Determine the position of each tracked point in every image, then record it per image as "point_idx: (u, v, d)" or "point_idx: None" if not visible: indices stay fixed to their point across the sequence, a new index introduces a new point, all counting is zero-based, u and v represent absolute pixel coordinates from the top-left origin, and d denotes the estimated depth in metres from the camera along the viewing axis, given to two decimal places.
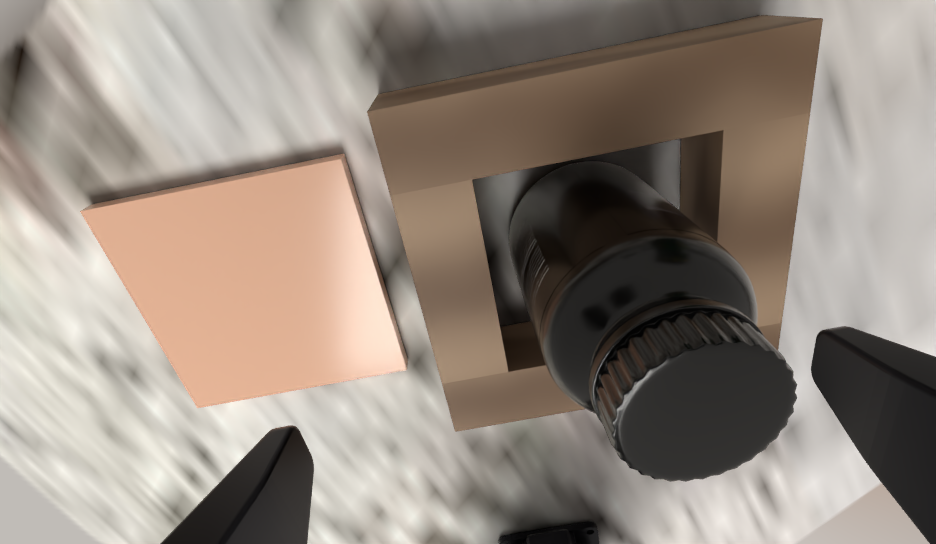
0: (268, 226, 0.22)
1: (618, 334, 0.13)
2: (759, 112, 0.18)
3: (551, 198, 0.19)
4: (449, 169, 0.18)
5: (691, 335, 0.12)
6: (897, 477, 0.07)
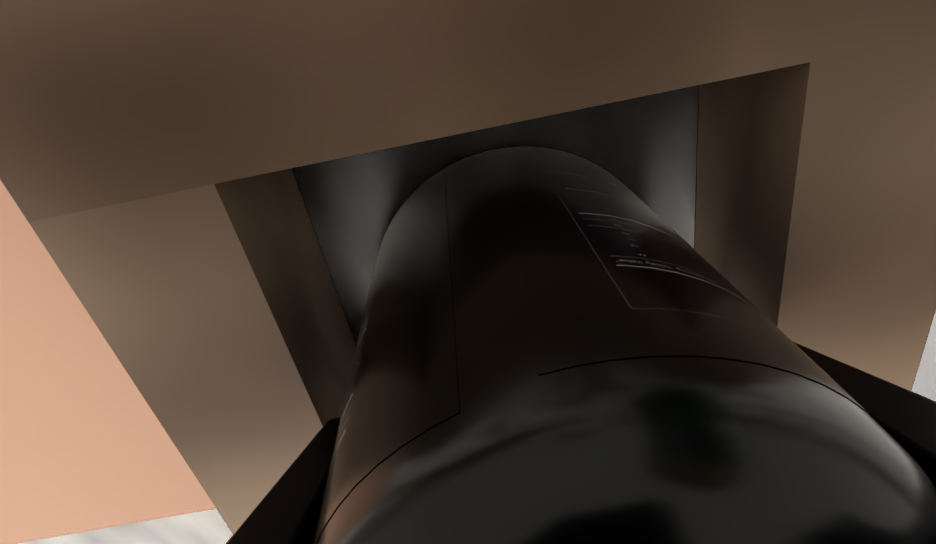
0: None
1: None
2: (901, 16, 0.07)
3: (419, 223, 0.09)
4: (152, 160, 0.08)
5: None
6: None
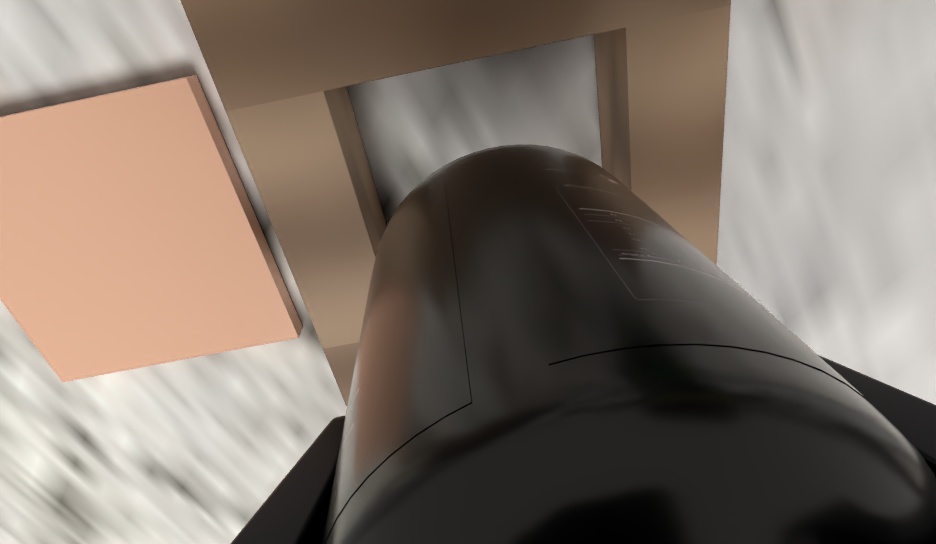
0: (111, 162, 0.18)
1: None
2: (668, 4, 0.14)
3: (420, 221, 0.09)
4: (293, 77, 0.15)
5: None
6: None
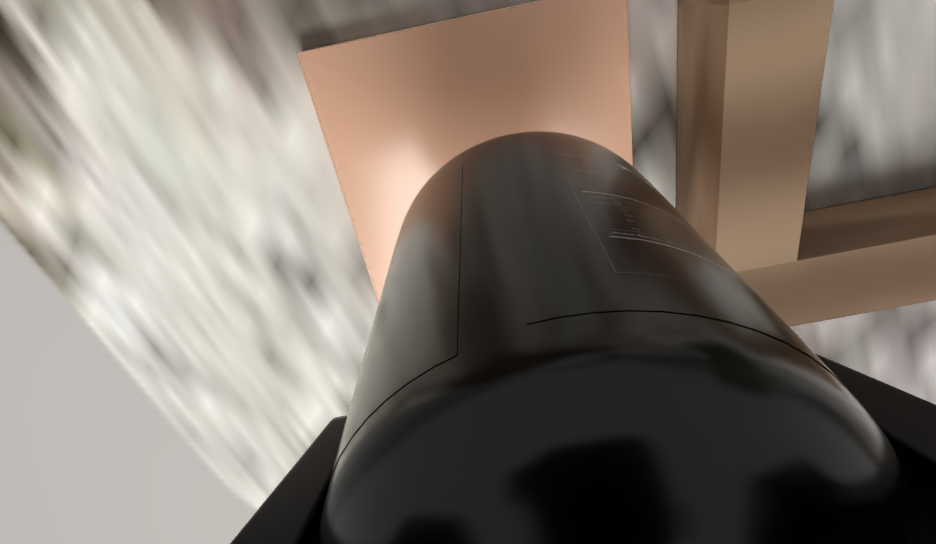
0: (518, 77, 0.18)
1: None
2: None
3: (437, 201, 0.10)
4: None
5: None
6: None
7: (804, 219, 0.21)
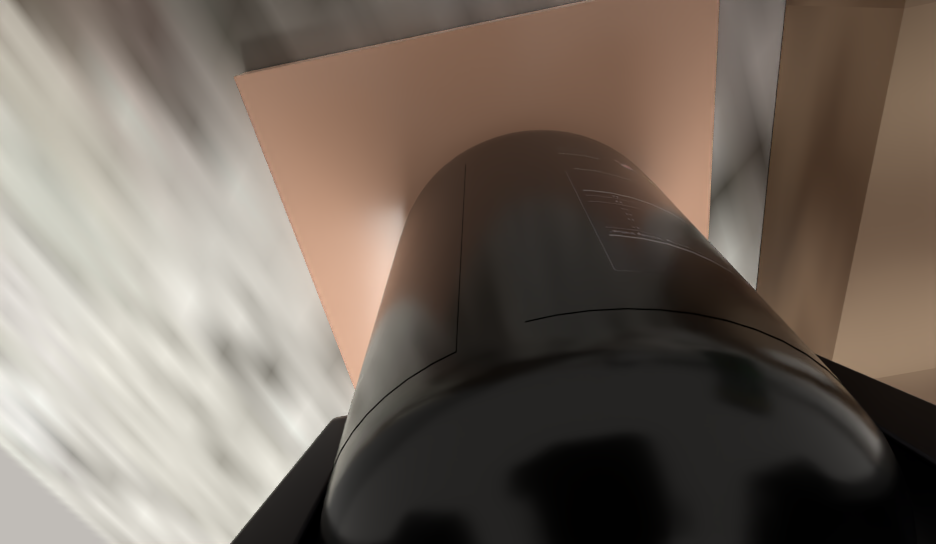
0: (556, 111, 0.12)
1: None
2: None
3: (439, 199, 0.10)
4: None
5: None
6: None
7: None
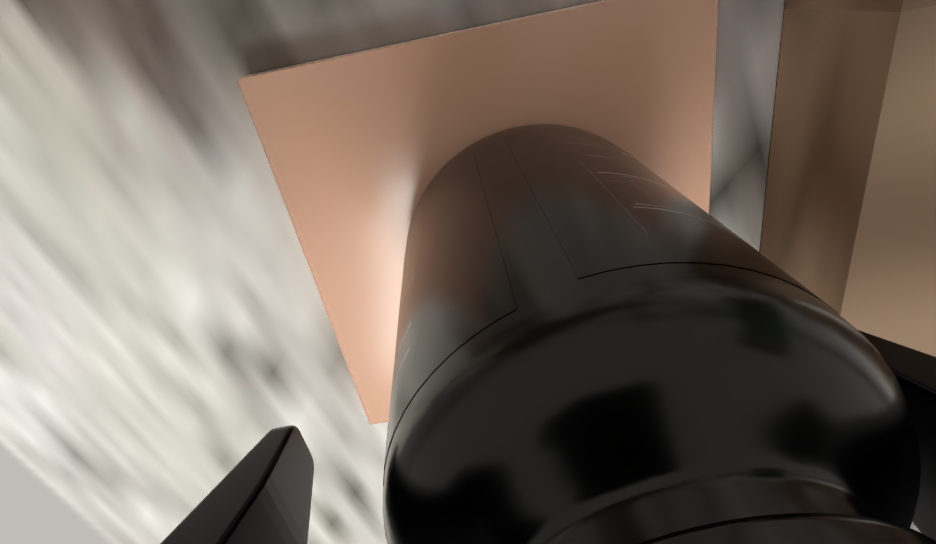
0: (556, 113, 0.12)
1: None
2: None
3: (454, 189, 0.10)
4: None
5: None
6: None
7: None
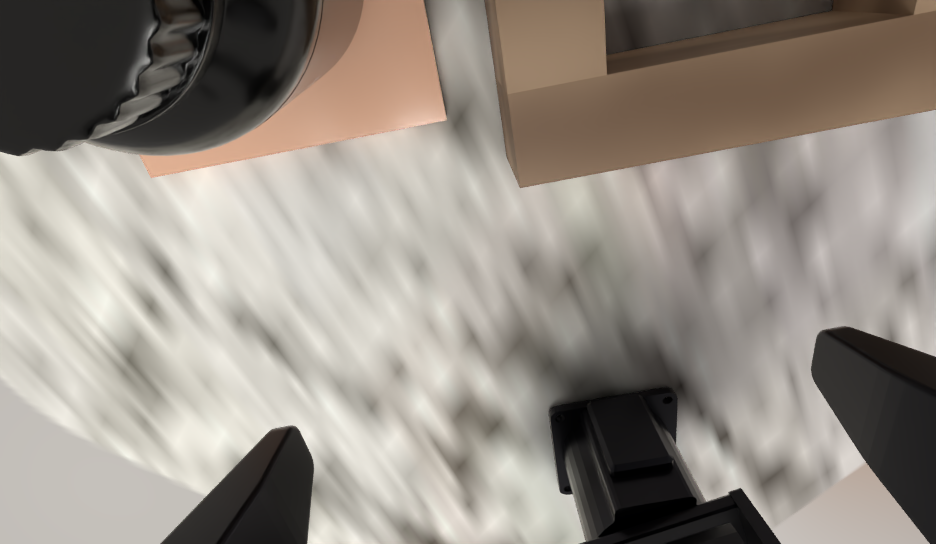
0: None
1: None
2: None
3: None
4: None
5: None
6: (897, 477, 0.07)
7: (642, 51, 0.18)
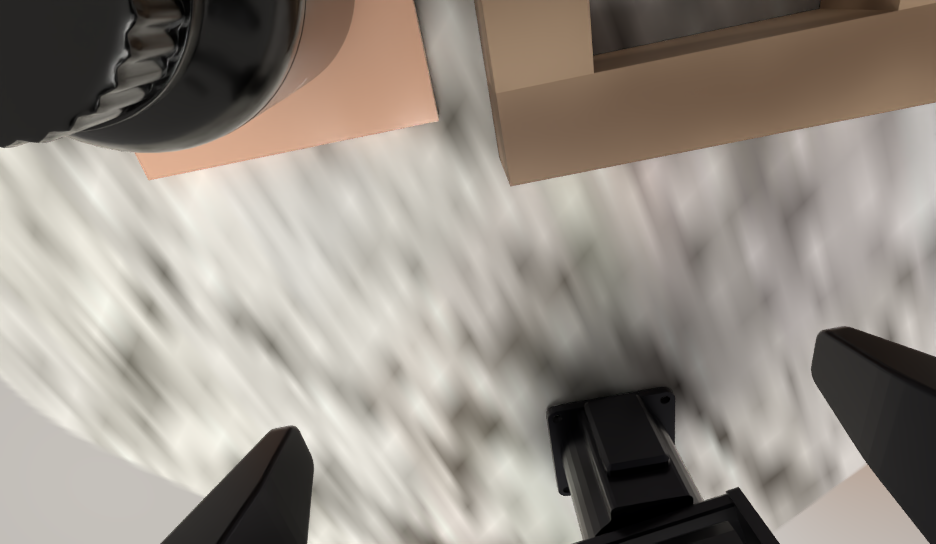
0: None
1: None
2: None
3: None
4: None
5: None
6: (897, 477, 0.07)
7: (631, 50, 0.18)
